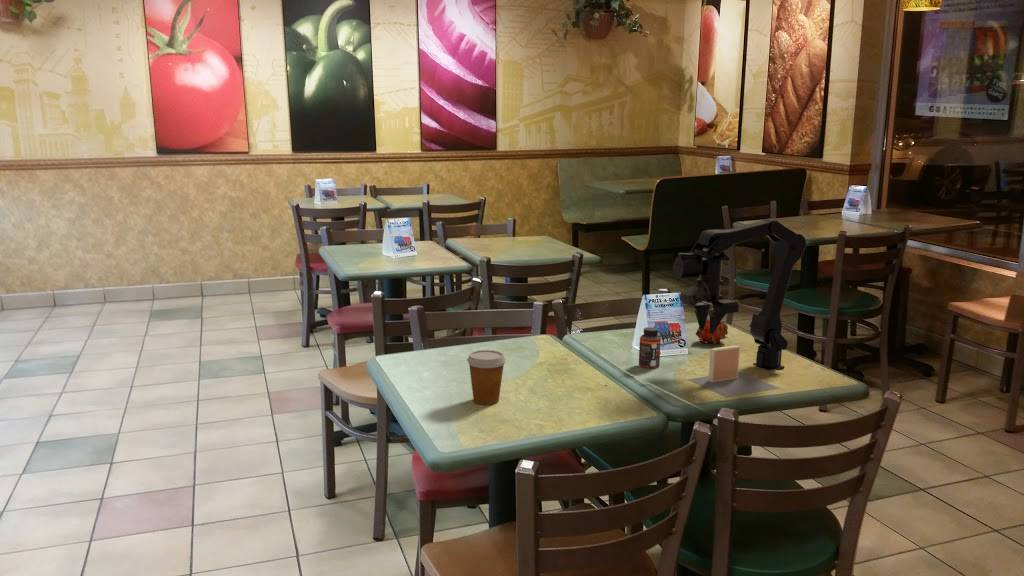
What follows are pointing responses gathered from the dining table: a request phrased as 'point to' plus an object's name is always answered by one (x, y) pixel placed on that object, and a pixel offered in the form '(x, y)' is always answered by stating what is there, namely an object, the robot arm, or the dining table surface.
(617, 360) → the dining table surface
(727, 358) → the tile
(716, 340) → the dragon fruit
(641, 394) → the dining table surface
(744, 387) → the mat
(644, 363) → the supplement bottle
